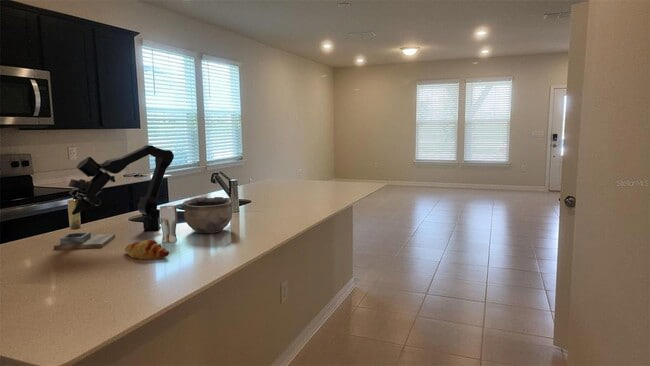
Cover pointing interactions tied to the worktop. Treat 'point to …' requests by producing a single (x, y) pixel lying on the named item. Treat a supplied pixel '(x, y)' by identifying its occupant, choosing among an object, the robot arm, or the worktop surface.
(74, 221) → the pale yellow drinking glass
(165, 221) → the beer glass
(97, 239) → the plate
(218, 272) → the worktop surface
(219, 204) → the ceramic bowl
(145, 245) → the croissant
